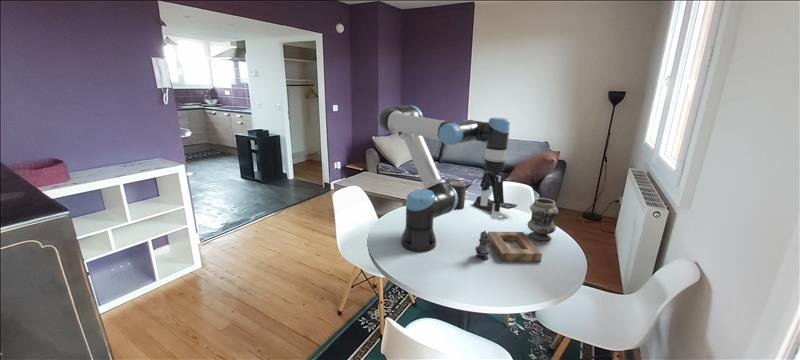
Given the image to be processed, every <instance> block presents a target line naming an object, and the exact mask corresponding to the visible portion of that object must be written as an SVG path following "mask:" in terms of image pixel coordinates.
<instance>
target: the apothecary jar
mask: <svg viewBox="0 0 800 360" xmlns="http://www.w3.org/2000/svg"><path fill="white" fill-rule="evenodd" d="M529 210H530V211H531V217H530V220H529V221H528V222H527V223H526V225H527V228H528V229H529V230H530V231H531V232H530V233H528V238H529V239H531V238H532V239H531V240H533V239H534V240H533V241H535V240H536V241H535V242H539V241H541V242H542V243H548V242H547V241H549V242H551V241H552V237H551V236H550V234H553V233H555V231H556V229H557V227H556V225H555V223H554V220H555V216H557V215H558V213H559V209H558V207H557V206H556V201H555V200H552V199H550V198H545V197H539V198H538V197H537V198H535V199H534V201H533V203H531V204H530V206H529ZM550 240H551V241H550ZM541 242H540V243H541Z"/></svg>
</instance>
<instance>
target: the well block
mask: <svg viewBox="0 0 800 360" xmlns="http://www.w3.org/2000/svg"><path fill="white" fill-rule="evenodd" d="M487 234H488V239H487V240H488V243H490V245H491V247H492V248H493V250H494V251H495V253H496V255H497V257H498V258H499V260H500V262H537V263H538V262H542V257H543V253H542V252H541V251H540V249H538V247H537V246H536V245H535V244H534V243H533V242H532V241H531V240H532V239H531V238H530V237H529V236H527V234H525V233H524V231H488V232H487Z"/></svg>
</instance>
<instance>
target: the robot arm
mask: <svg viewBox="0 0 800 360" xmlns="http://www.w3.org/2000/svg"><path fill="white" fill-rule="evenodd" d="M510 121H511V120H510V119H509V118H505V117H490V118H489V119H488V121H479V120H473V119H464V120H462V121H461V122H454V121H447V120H441V119H435V118H429V117H424V116H423V113H422V111H421V110H420V108H419V107H417V106H415V105H410V104H406V105H405V104H404V105H388V106H386V107H384V108H382V109H381V110H380V111H379V113H378V117H377V122H378V125H379V127H380V129H381V130H383V131H384V132H388V133H392V134H393V133H394V134H398V136H399V138H400V139H402V140H404V142H405V145H406V147H407V149H408V151H409V154H410V156H411V159H412V162H413V163H414V166H415V168H416V170H417V173H418V176H419V177H420V180H421V182H422V183H421V184H422V185H423V188H421V189H415V190H412V191H410V192H409V193H408V194H407V196H406V202H405V228H404V230H403V233H402V235H401V239H400V244H401V246H402V248H404V249H406V250H408V251H411V252H417V253H425V252H429V251H432V250H433V249H434V248H436V246H437V239H436V234H435V231H434V219H435V218H439V217H440V216H443V215H446V214H448V213H451V212H452V211H454V210H456V209H455V208H456V206H457V203H458V195H457V192H456V191H455V189H454V188H452V187H450V186H449V184H448V182H447V180H444V179H443V178H441V175H440V173H439V170H438V168H437V166H436V164H435V161H434V159H433V156H432V154H431V152H430V149H429V148H428V145H427V143H426V141H425V138H427V139H431V140H437V141H440V142H442V143H443V144H444V145H446V146H448V145H453V146H454V145H457V144H461V143H462V144H463V143H466V142H467V143H468V142H473V141H476V142H482V143H486V146H485V154H484V158H485V159H484V165H483V169H484V172H483V176H482V178H481V180H480V181H481V182H480V186H479V187H480V188H481V195H480V196H481V203H480V206H487V203H488V199H489V193H490V187H491V189H492V196H493V200H492V201H493V202H492V203H493V206H492V212H491V216H490V219H491V220H500V212H501V211H500V210H501V207H500V205H501V203H505V201H504V200H505V199H504V176H503V175H502V176H501V175H500V174H501V173H500V172H504V171H505V167H506V161H505V160H506V158H507V154H508V151H507V149H508V141H509V133H510V128H511V126H510V125H511V124H510V123H511V122H510Z"/></svg>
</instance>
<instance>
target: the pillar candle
mask: <svg viewBox="0 0 800 360" xmlns="http://www.w3.org/2000/svg"><path fill="white" fill-rule="evenodd" d="M448 186H450V187H452V188H454V189H455V191H456V192H457V195H458V203H457V206H456V208H455V209H454V210H459V211H460V210H463V209H465V199H466V189H467V184H466V183H465V182H461V181H450V182H449V183H448Z"/></svg>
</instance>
